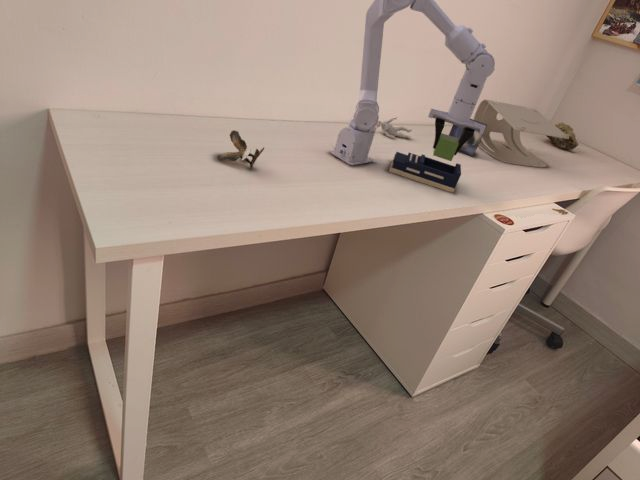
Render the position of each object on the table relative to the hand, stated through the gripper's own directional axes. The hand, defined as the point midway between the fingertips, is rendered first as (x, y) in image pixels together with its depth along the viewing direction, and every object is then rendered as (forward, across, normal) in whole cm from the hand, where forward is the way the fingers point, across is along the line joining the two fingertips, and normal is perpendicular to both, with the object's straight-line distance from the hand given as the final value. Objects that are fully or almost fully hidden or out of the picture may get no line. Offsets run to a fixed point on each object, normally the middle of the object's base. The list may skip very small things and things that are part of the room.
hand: (444, 150), depth 120 cm
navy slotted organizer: (+9, +3, 0) cm, 9 cm away
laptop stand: (+9, -27, -55) cm, 62 cm away
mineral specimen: (+9, -55, -94) cm, 109 cm away
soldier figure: (+9, +15, -30) cm, 35 cm away
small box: (+9, -8, -38) cm, 40 cm away
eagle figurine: (+9, +45, +30) cm, 55 cm away
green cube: (+1, 0, 0) cm, 1 cm away
